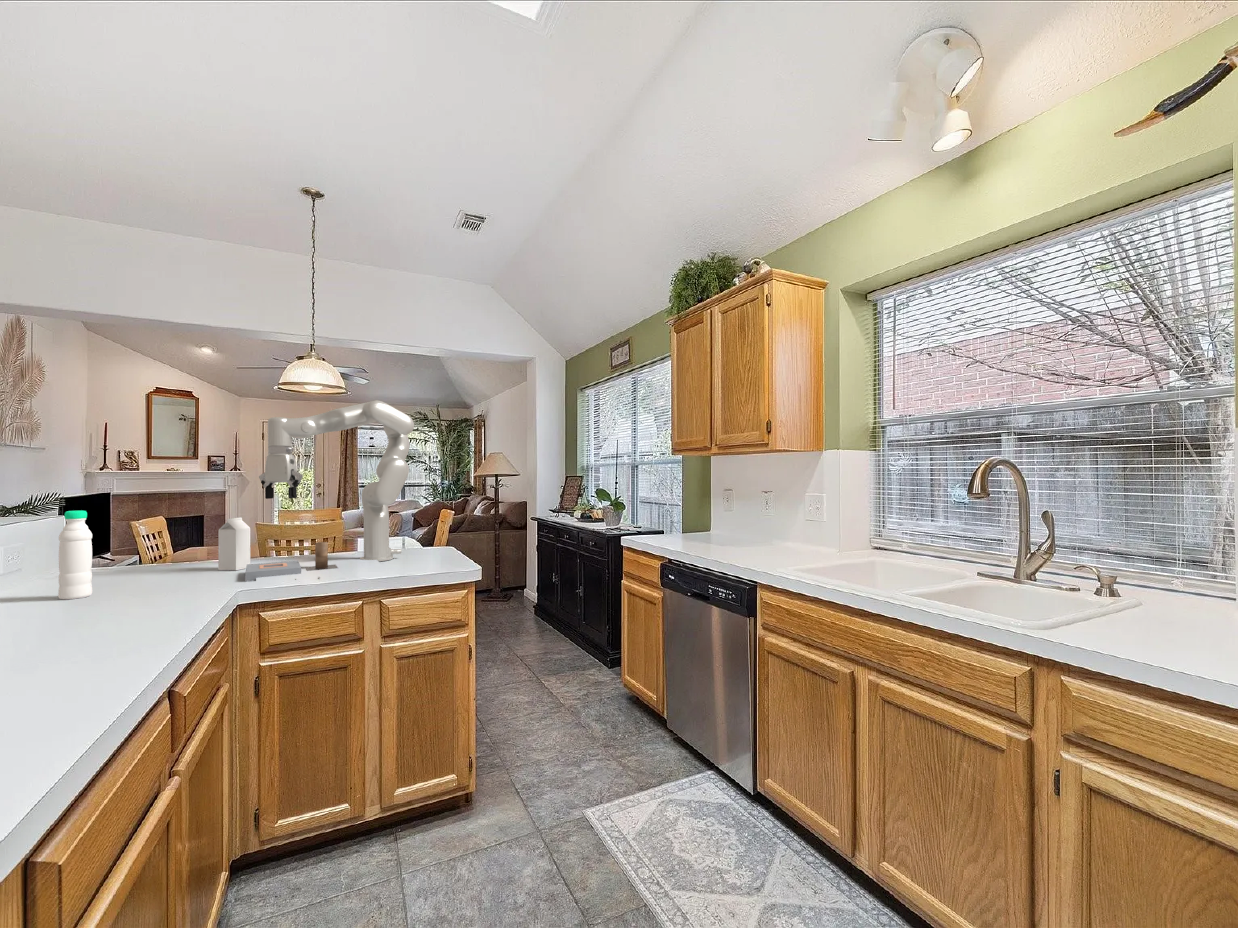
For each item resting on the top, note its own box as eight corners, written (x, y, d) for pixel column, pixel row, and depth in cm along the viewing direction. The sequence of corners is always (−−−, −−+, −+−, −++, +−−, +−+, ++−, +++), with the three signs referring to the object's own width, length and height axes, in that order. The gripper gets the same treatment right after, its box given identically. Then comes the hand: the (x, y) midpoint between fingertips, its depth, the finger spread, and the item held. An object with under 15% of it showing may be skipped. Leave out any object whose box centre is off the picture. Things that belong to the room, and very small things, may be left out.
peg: (327, 566, 210) (327, 541, 210) (328, 567, 206) (328, 542, 206) (314, 567, 207) (314, 542, 208) (315, 568, 204) (315, 543, 204)
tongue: (335, 567, 214) (335, 564, 214) (338, 570, 205) (338, 567, 205) (305, 569, 208) (305, 567, 208) (306, 573, 200) (306, 570, 200)
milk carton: (250, 567, 215) (250, 517, 215) (236, 570, 208) (236, 518, 208) (233, 567, 216) (233, 517, 216) (218, 570, 209) (218, 518, 209)
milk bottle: (97, 595, 166) (98, 510, 167) (68, 600, 160) (68, 511, 160) (82, 594, 169) (82, 509, 169) (52, 599, 162) (52, 511, 162)
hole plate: (298, 568, 212) (298, 559, 212) (301, 576, 195) (301, 566, 195) (246, 572, 203) (246, 563, 203) (245, 581, 186) (245, 571, 186)
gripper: (308, 451, 209) (309, 497, 209) (267, 452, 213) (268, 498, 213) (293, 450, 202) (294, 498, 202) (251, 451, 205) (252, 499, 205)
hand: (281, 498), depth 207 cm, fingers open, 9 cm apart
